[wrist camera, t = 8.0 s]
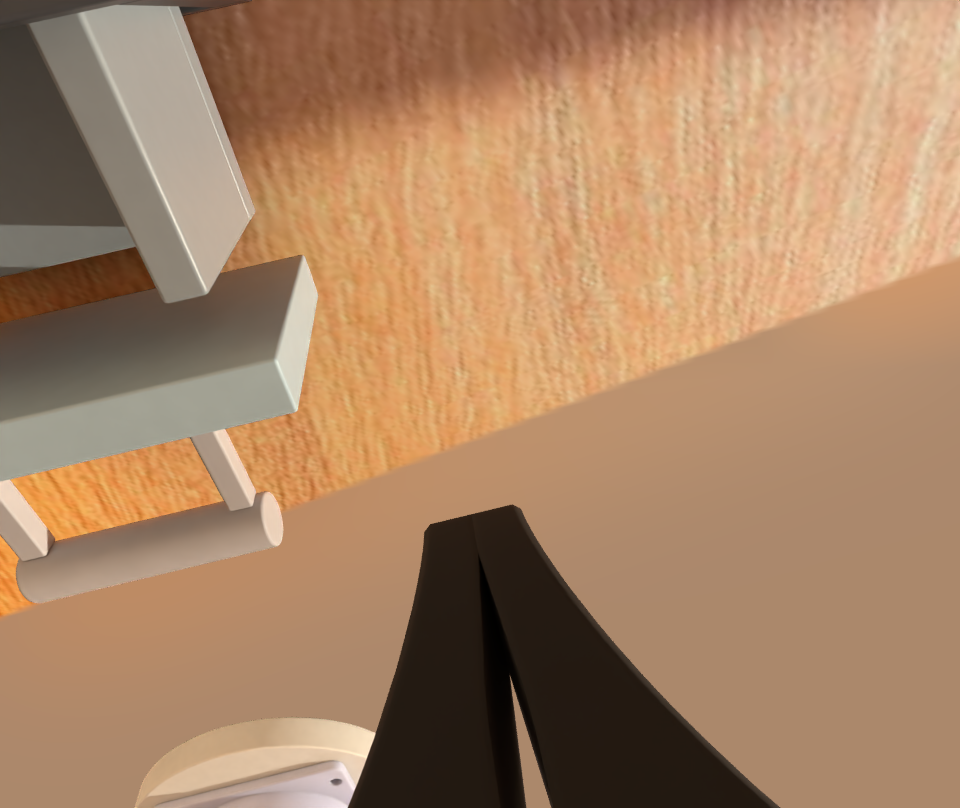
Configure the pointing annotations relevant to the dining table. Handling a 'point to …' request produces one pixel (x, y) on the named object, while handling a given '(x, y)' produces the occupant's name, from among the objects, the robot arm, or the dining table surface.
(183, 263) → the tray
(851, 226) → the dining table surface
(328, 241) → the dining table surface
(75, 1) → the box
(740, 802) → the robot arm
